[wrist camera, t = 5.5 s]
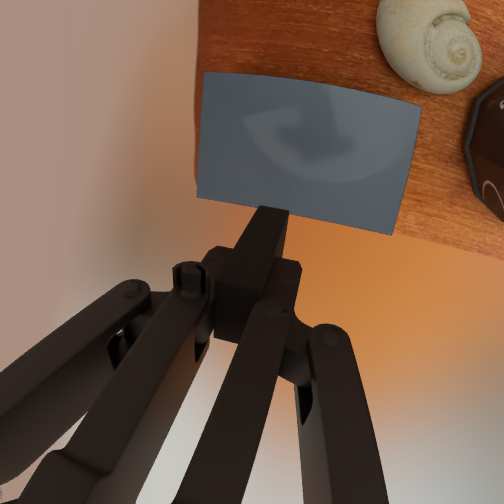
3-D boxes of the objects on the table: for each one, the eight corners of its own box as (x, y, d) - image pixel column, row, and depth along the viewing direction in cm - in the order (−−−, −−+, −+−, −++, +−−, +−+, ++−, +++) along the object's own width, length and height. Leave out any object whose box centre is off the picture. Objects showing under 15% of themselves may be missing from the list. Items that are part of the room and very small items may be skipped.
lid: (390, 232, 27) (391, 236, 27) (199, 194, 30) (196, 197, 30) (419, 106, 22) (422, 106, 21) (207, 71, 25) (204, 71, 24)
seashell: (508, 83, 18) (421, 101, 21) (471, 89, 26) (396, 106, 28) (451, -40, 15) (358, -32, 18) (426, -12, 22) (348, 0, 25)
